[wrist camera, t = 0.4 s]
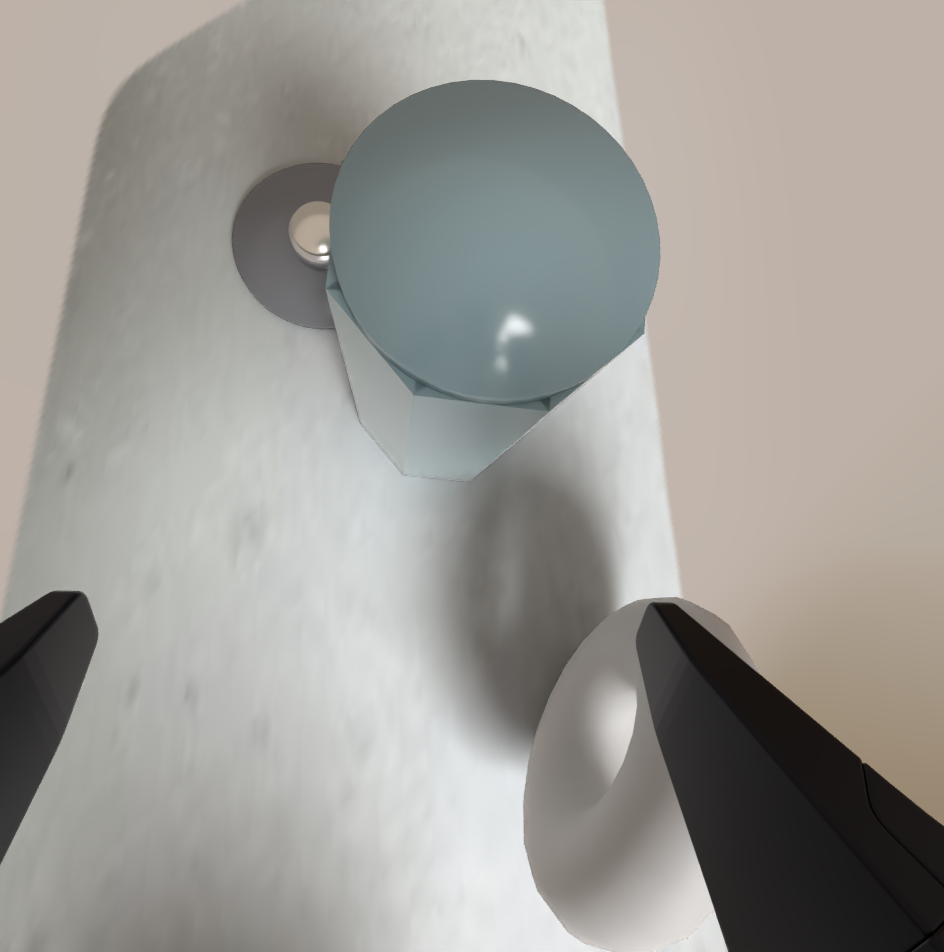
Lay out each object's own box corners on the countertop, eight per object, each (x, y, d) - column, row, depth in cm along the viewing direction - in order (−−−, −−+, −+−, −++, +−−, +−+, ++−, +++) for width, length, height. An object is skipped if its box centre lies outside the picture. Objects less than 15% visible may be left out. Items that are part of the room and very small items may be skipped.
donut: (563, 851, 22) (704, 1101, 12) (483, 812, 22) (559, 1035, 12) (665, 609, 23) (860, 653, 14) (591, 571, 23) (737, 588, 13)
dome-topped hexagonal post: (551, 413, 24) (723, 268, 11) (433, 511, 23) (481, 467, 10) (453, 296, 24) (519, 24, 11) (330, 387, 23) (254, 194, 10)
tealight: (365, 252, 23) (363, 236, 22) (315, 282, 23) (310, 267, 22) (331, 205, 23) (327, 187, 22) (280, 233, 23) (274, 216, 22)
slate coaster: (442, 272, 24) (443, 269, 24) (300, 361, 23) (299, 358, 22) (346, 139, 24) (345, 134, 24) (199, 220, 23) (196, 216, 23)
